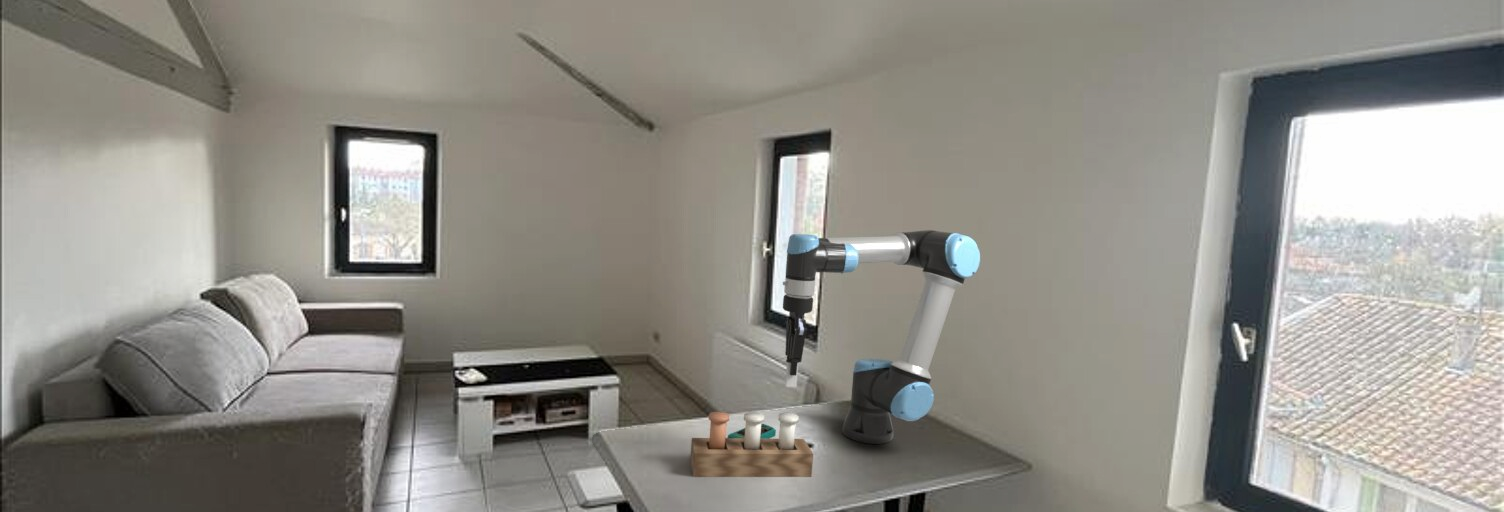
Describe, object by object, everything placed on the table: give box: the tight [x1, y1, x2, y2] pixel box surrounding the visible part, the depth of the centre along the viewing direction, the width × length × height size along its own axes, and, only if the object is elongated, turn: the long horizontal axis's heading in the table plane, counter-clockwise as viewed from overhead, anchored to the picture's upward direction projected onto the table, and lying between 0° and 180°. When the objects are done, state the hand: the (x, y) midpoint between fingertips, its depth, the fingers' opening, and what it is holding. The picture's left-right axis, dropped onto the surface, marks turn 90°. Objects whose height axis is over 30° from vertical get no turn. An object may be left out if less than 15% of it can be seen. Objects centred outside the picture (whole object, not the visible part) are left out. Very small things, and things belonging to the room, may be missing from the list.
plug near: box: [777, 412, 800, 450], centre depth 175 cm, size 5×5×9 cm
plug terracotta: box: [708, 411, 730, 450], centre depth 172 cm, size 5×5×9 cm
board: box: [689, 437, 814, 478], centre depth 174 cm, size 30×10×6 cm, turn 100°
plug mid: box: [743, 411, 765, 450], centre depth 173 cm, size 5×5×9 cm
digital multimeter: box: [727, 423, 777, 439], centre depth 194 cm, size 7×15×3 cm, turn 145°
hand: (790, 386), depth 173 cm, fingers closed
